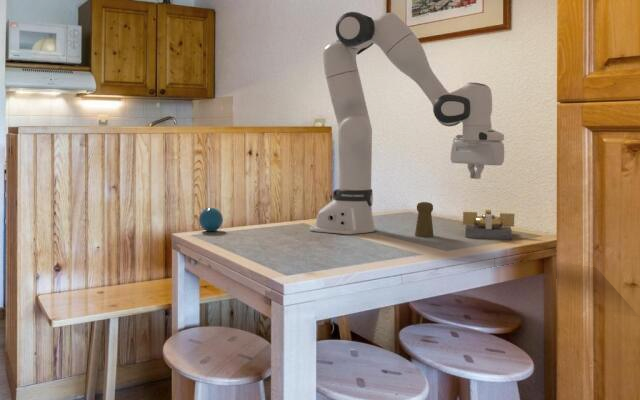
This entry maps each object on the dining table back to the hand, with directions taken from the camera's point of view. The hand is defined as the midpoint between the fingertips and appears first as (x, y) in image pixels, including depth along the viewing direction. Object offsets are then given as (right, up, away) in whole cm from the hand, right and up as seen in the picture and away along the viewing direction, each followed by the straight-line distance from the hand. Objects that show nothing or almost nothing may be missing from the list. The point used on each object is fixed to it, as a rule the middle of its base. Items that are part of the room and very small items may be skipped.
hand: (475, 178), depth 184 cm
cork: (-16, -19, +4) cm, 25 cm away
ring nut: (+6, -15, +5) cm, 17 cm away
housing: (+6, -18, +5) cm, 20 cm away
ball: (-86, -18, +11) cm, 89 cm away
